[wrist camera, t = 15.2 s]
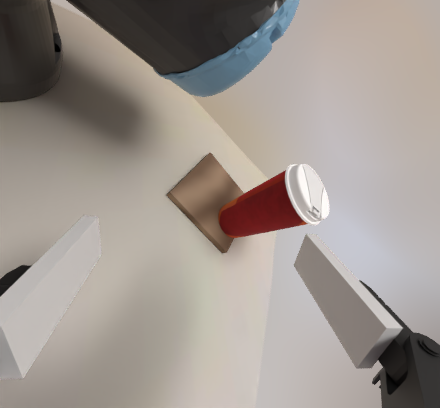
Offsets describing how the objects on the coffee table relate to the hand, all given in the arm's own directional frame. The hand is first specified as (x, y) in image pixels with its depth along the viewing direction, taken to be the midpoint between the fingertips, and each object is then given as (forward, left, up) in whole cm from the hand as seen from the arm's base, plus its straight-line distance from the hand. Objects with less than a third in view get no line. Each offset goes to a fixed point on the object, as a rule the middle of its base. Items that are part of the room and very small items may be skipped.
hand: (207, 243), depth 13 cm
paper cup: (+7, +15, -12) cm, 20 cm away
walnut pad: (+3, +16, -13) cm, 21 cm away
